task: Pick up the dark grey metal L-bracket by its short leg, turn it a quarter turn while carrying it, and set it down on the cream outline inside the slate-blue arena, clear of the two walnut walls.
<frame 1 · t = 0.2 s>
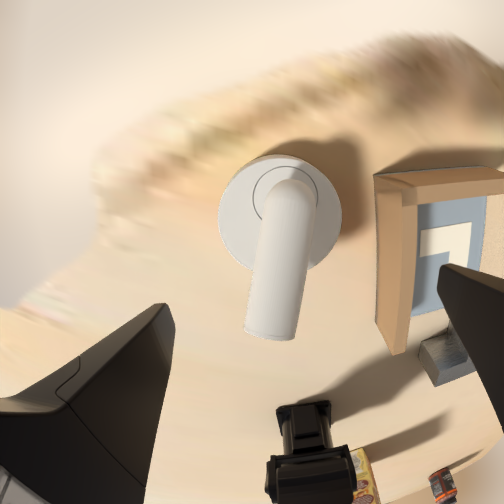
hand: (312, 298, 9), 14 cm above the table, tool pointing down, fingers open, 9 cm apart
candy box: (356, 458, 39), on the table
bracket: (443, 331, 28), on the table
arena: (434, 245, 24), on the table
supplement bottle: (438, 472, 48), on the table
wall hook: (276, 218, 23), on the table
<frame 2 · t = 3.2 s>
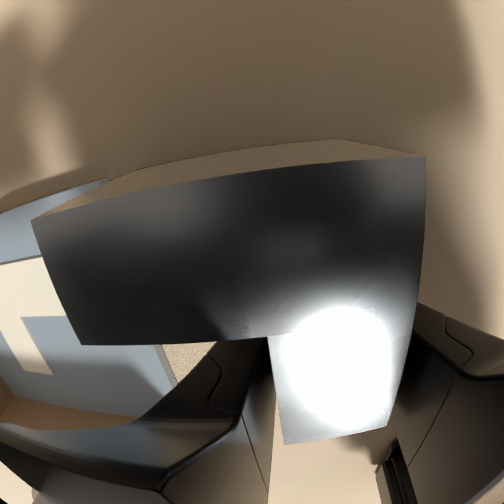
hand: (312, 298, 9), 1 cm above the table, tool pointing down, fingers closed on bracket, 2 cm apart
bracket: (248, 247, 9), on the table, touching gripper
arena: (35, 334, 11), on the table
when the fingers open (3 cm above the table, at t = 7.2 s): bracket stays where it is, resting on arena.
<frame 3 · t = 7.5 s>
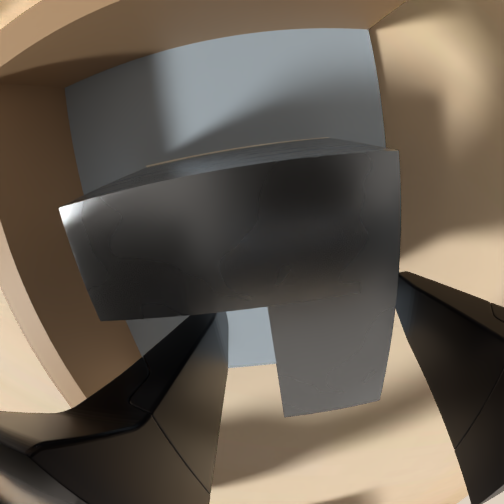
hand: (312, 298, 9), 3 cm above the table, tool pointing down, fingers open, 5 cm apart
bracket: (249, 238, 10), point 1 cm above the table, touching arena
arena: (217, 207, 11), on the table
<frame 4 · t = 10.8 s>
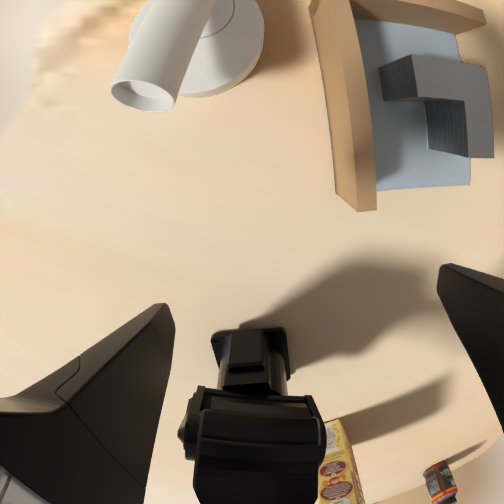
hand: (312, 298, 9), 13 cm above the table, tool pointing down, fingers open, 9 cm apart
candy box: (332, 435, 33), on the table
bracket: (419, 109, 17), point 1 cm above the table, touching arena
arena: (402, 95, 17), on the table
supplement bottle: (434, 467, 42), on the table
wall hook: (198, 50, 17), on the table
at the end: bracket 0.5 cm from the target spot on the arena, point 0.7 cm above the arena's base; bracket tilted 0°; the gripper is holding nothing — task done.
